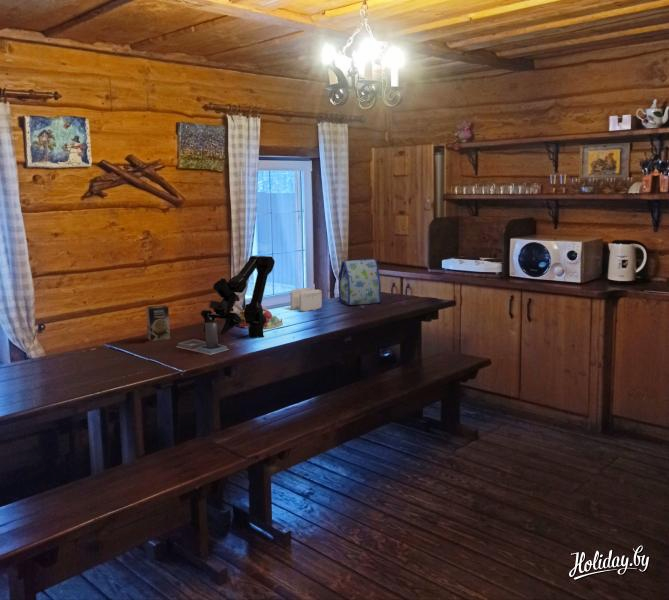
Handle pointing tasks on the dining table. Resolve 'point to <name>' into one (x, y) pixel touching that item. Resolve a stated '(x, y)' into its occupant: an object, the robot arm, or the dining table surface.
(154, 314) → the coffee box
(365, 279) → the lunch bag
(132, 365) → the dining table surface
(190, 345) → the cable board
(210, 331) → the grey cylinder
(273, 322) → the candy landscape model
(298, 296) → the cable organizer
